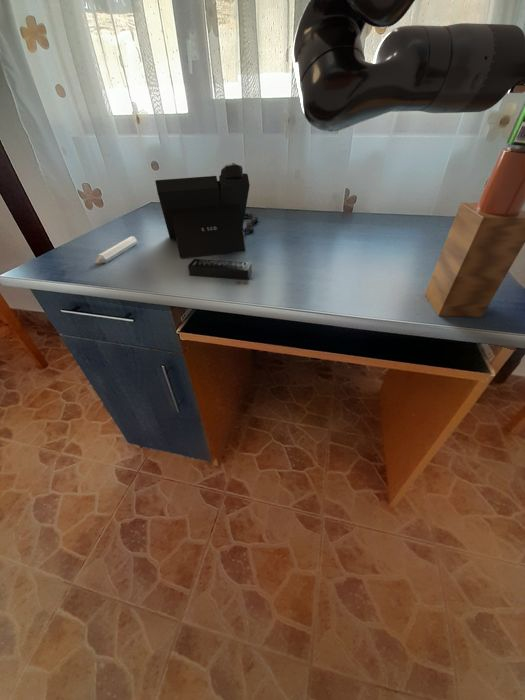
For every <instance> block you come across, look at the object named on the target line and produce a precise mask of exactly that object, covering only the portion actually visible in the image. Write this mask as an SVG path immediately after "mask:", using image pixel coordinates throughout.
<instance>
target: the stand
mask: <svg viewBox="0 0 525 700" xmlns="http://www.w3.org/2000/svg"><path fill="white" fill-rule="evenodd" d="M477 204H478V202H460V205H459V206H458V209H457V212H456V215H455V218H454V219H453V222H452V224H451V227H450V229H449V232H448V235H447V237H446V239H445V242H444V244H443V247H442V250H441V252H440V255H439V256H438V259H437V262H436V264H435V267H434V270H433V272H432V273H431V274H432V275H431V277H430V279H429V282H428V284H427V286H426V289H425V292H424V296H425V298H426V299H427V302H429V304H430V305H431V307H432V309H433V310H434V312H435V313H436V315H437V316H439V317H462V318H463V317H464V318H469V317H470V318H482V317H483V316H484V314H485V312H486V310H487V309H488V307H489V305H490V304H491V302H492V300H493V298H494V297H495V295H496V293H497V292H498V290H499V289H500V287H501V284H502V283H503V281H504V280H505V278H506V276H507V275H508V273H509V271H510V269H511V267H512V266H513V264H514V262H515V261H516V259H517V257H518V256H519V253H520V252H521V251H522V248H523V246H524V245H525V210H524V209H522V210H521V212H520V213H519V214H518V215H514V216H502V215H494V214H489V213H485V212H482V211H480V210H478V209H477V208H476V206H477Z"/></svg>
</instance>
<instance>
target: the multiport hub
mask: <svg viewBox="0 0 525 700" xmlns="http://www.w3.org/2000/svg"><path fill="white" fill-rule="evenodd" d="M187 269H188V275H189V276H191V277H205V278H218V279H231V280H243V281H247V280H250V277H251V275H252V272H253V263H252V262H250V261H249V262H248V261H235V260H219V259H205V258H193V259H192V260H191V261H190V262H189V264H188V265H187Z"/></svg>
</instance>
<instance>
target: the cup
mask: <svg viewBox="0 0 525 700" xmlns="http://www.w3.org/2000/svg"><path fill="white" fill-rule="evenodd" d="M477 203H478V204H477V206H476V208H477V209H478V210H480V211H482V212H485V213H489V214H494V215H502V216H514V215H518V214H519V213H520V212H521V210H523V208H524V206H525V153H524V152H514V151H509V150H506V147H503V148H501V149H500V151H499V154H498V156H497V158H496V160H495V163H494V165H493V167H492V170H491V172H490V174H489V177H488V179H487V181H486V184H485V186H484V188H483V190H482V192H481V195H480V197H479V199H478V202H477Z"/></svg>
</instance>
